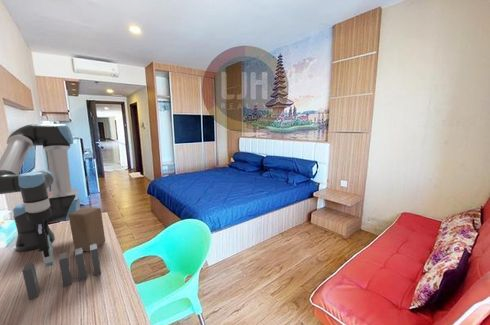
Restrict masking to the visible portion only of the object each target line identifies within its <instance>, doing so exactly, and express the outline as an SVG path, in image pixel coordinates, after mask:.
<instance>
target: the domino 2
mask: <svg viewBox="0 0 490 325" xmlns="http://www.w3.org/2000/svg"><path fill="white" fill-rule="evenodd" d="M47 237H48V243H49V247H50V250H51V254H52V259H53V262H50V263H47V264H44V267H46V268H47V267H49V266H53V265H54V261H55V260H54V259H55V258H54V255H53V253H54V251H53V252H52V249H53V247H52V248H51V244H52V242H51V243H50V238H49V235H47Z"/></svg>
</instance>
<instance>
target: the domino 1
mask: <svg viewBox="0 0 490 325" xmlns="http://www.w3.org/2000/svg"><path fill="white" fill-rule="evenodd" d="M22 275H23V279H24V283H25V284H24V285H25V288H26V293H27V296H28V297H27V298H28V301H30V300H33V299H36V298H38V297H39V293H40V285H39V280H38V274H37V272H36V265H35V262H34V261H31V262H28V263H25V264H24V266H23V268H22Z"/></svg>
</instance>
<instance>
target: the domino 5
mask: <svg viewBox="0 0 490 325" xmlns="http://www.w3.org/2000/svg"><path fill="white" fill-rule="evenodd" d="M90 256H91V263H92V269H93V275H94V277H96V276H98V275H101V274H102V272H101V271H102V270H101V264H100V257H99V251H98V247H97V244H92V245H90Z"/></svg>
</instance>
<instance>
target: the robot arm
mask: <svg viewBox="0 0 490 325" xmlns="http://www.w3.org/2000/svg"><path fill="white" fill-rule="evenodd" d="M6 144H7V146H6V147H5V149H4V152H3V153H2V155H1V157H0V195H5V194H12V193H21V199H22V202H21V203H19V204H17V205H16V206H15V207H14V208H13V210H12V212H13V218H14V222H15V225H16V226H15V227H16V230H17V238H16V241H15V248H16V251H18V252H27V251H34V250H37V249H38V252H40V253H41V256H42V259H43V264H44V265H45V264H47V263H50V262H53V263H54V261H53V259H52V254H51V250H50V247H49V243H48V237H47V235H49V238H50V243H51V248H52V252H53V256H54V249H53V245H52V242H54V240H55V234H54V232H53V231H52V230H51V228H50V226H49V223H55V222H61V221H68V220H69V214H70V213H73V212H75V211H77V210H80V209H81V203H80V202H81V201H80V200H81V199H80V197H78V196H76V194H75V193H74V192H73V190H72V184H71V174H70V173H71V172H70V165H69V154H68V150H70V148H71V145H73V144H74V138H73V134H72V131H71V130H70V127H69V126H68V124H65V123H39V124H38V123H36V124H35V123H32V124H27V125H24V126H21V127H19V128H17V129H16V130H14V131H13V132H12V133H10V135H9V136H8V137H7V139H6ZM38 146H41V147H42V149H44V150H45V151H46V154H47V161H48V170H44V169H43V170H38V171H32V172H31V171H30V172H25V173H20V172H21V170H22V166H23V164H24V162H25V160H26V157H27V155H28V152H29V151H30V150H32V149H33V147H38ZM48 188H50V192H51V194H50V195H49V194H48Z"/></svg>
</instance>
